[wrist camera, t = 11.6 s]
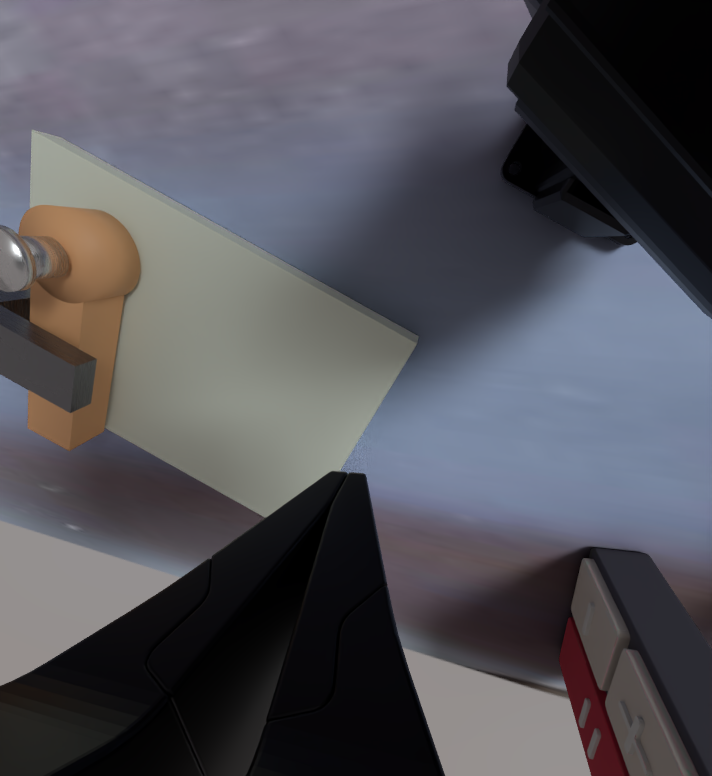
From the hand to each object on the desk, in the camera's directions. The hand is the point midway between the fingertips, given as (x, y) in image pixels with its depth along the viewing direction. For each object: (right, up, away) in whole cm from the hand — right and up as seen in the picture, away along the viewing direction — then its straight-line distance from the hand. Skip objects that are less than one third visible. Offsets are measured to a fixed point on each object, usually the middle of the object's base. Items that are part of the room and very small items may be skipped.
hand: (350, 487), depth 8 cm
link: (-16, +6, +13) cm, 21 cm away
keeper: (-15, +9, +13) cm, 22 cm away
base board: (-10, +4, +14) cm, 17 cm away
